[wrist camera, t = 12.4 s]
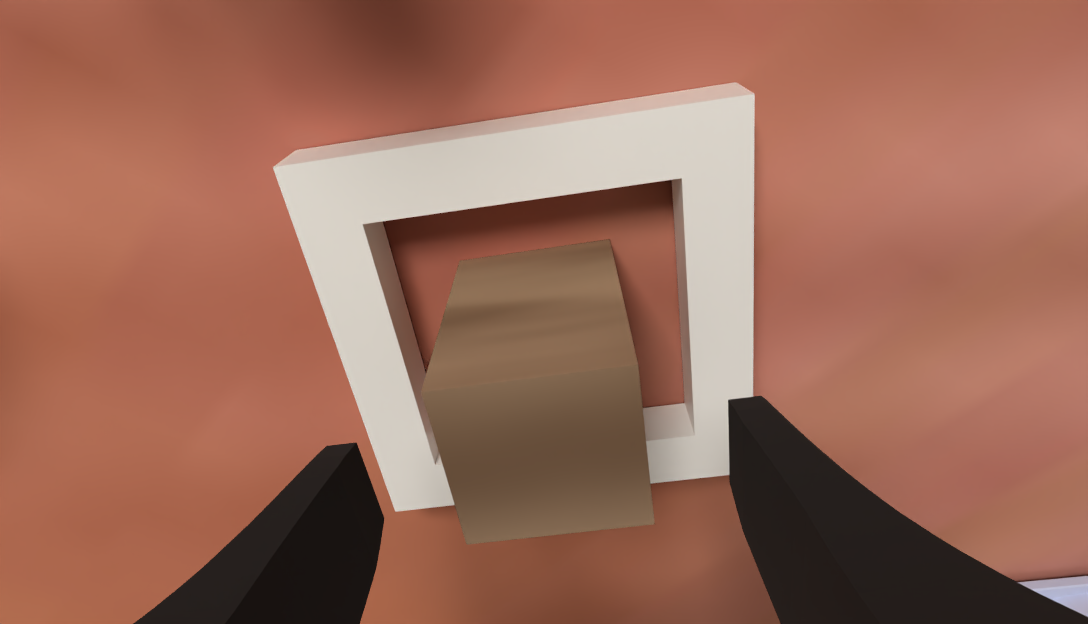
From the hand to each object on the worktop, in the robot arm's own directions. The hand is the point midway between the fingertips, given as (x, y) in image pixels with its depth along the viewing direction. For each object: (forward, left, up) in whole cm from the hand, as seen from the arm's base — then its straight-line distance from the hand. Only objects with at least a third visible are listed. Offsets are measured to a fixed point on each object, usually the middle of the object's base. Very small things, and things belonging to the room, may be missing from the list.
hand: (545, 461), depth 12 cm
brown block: (0, 0, -6) cm, 6 cm away
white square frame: (0, 0, -6) cm, 6 cm away
